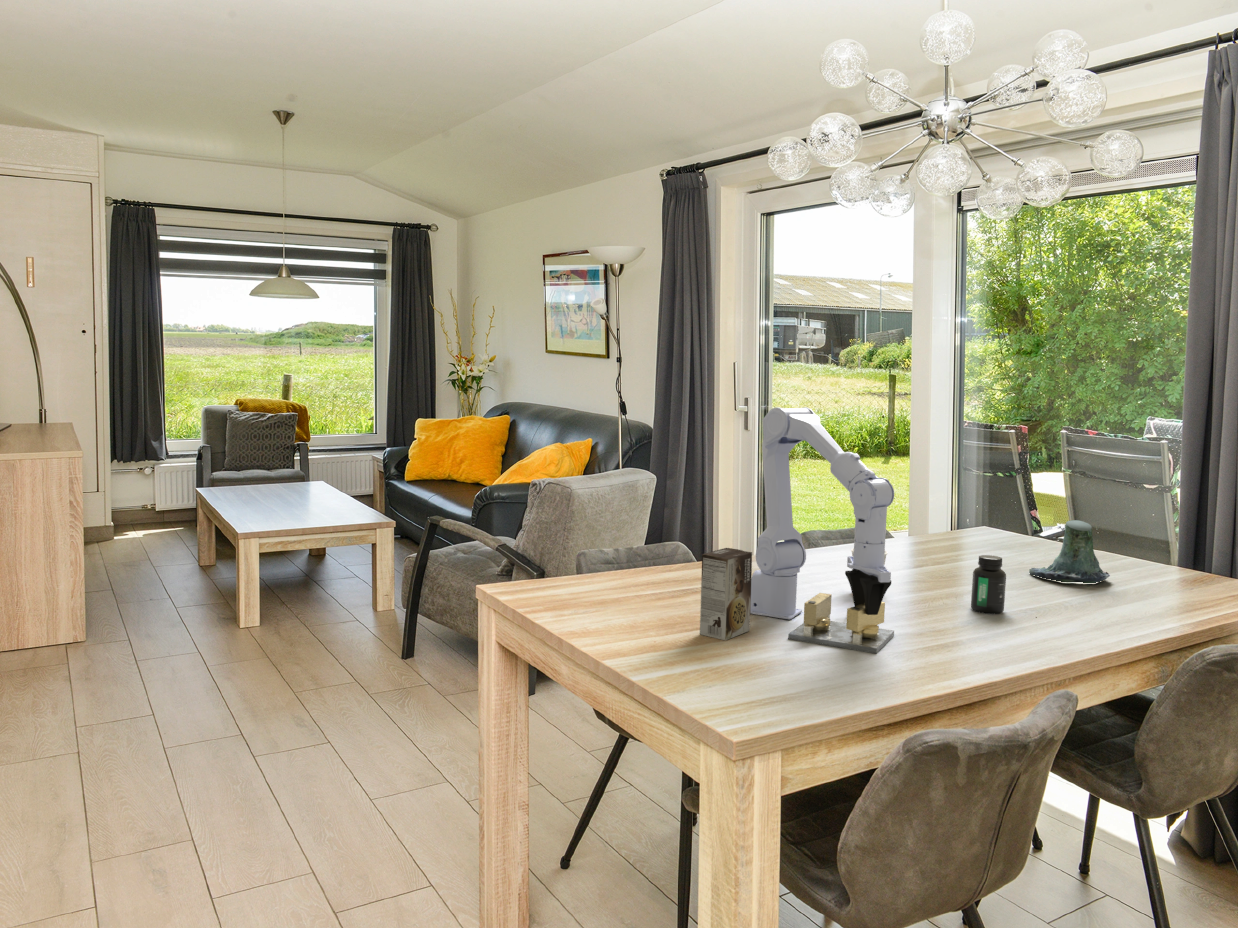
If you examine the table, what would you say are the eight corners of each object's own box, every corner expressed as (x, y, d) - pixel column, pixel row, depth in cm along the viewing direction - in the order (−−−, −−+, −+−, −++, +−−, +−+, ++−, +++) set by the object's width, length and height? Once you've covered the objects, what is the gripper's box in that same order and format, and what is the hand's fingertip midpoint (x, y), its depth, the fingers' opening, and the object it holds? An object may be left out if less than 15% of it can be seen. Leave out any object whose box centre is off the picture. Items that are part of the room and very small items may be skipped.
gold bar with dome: (866, 626, 185) (868, 597, 185) (889, 632, 182) (891, 602, 181) (839, 636, 178) (841, 606, 177) (863, 642, 175) (864, 611, 174)
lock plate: (788, 638, 180) (789, 602, 179) (810, 622, 192) (812, 588, 192) (876, 653, 172) (878, 615, 171) (893, 635, 184) (895, 599, 183)
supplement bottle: (983, 615, 202) (987, 560, 200) (964, 607, 208) (967, 554, 207) (1010, 613, 203) (1014, 559, 202) (990, 605, 210) (993, 553, 209)
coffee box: (723, 625, 189) (726, 546, 187) (750, 631, 185) (753, 551, 183) (698, 634, 182) (700, 553, 180) (725, 641, 178) (728, 557, 176)
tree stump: (1091, 573, 250) (1106, 512, 244) (1116, 609, 231) (1133, 543, 225) (1020, 566, 252) (1032, 505, 246) (1039, 601, 234) (1053, 536, 228)
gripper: (834, 534, 184) (831, 601, 186) (867, 549, 170) (863, 621, 172) (867, 534, 186) (863, 600, 187) (902, 548, 172) (898, 620, 173)
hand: (865, 610), depth 179 cm, fingers closed on gold bar with dome, 4 cm apart
